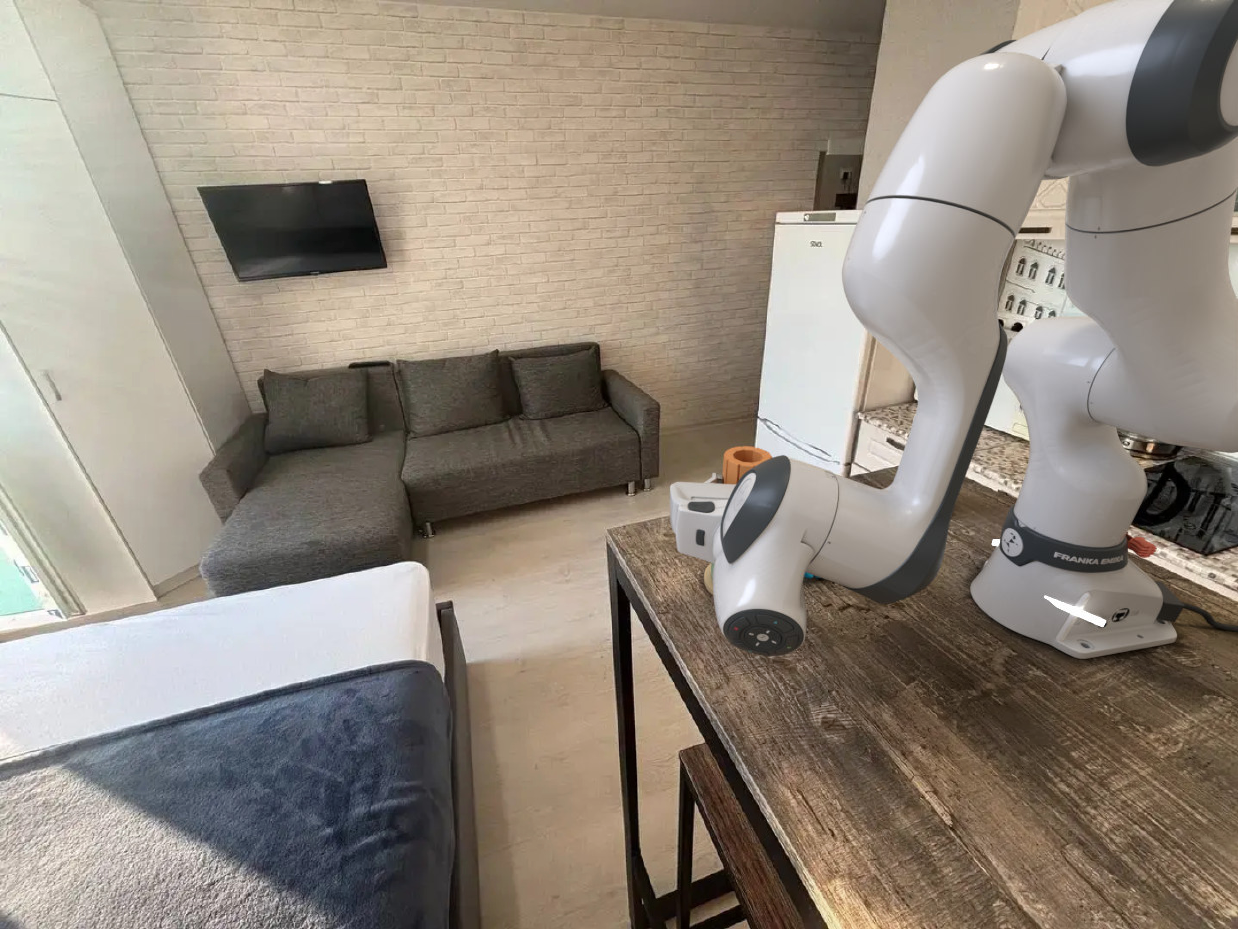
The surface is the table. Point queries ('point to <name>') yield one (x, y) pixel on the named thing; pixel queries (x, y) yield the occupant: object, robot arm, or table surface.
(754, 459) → the orange grooved hollow cylinder
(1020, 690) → the table surface
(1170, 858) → the table surface
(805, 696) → the table surface
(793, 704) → the table surface
